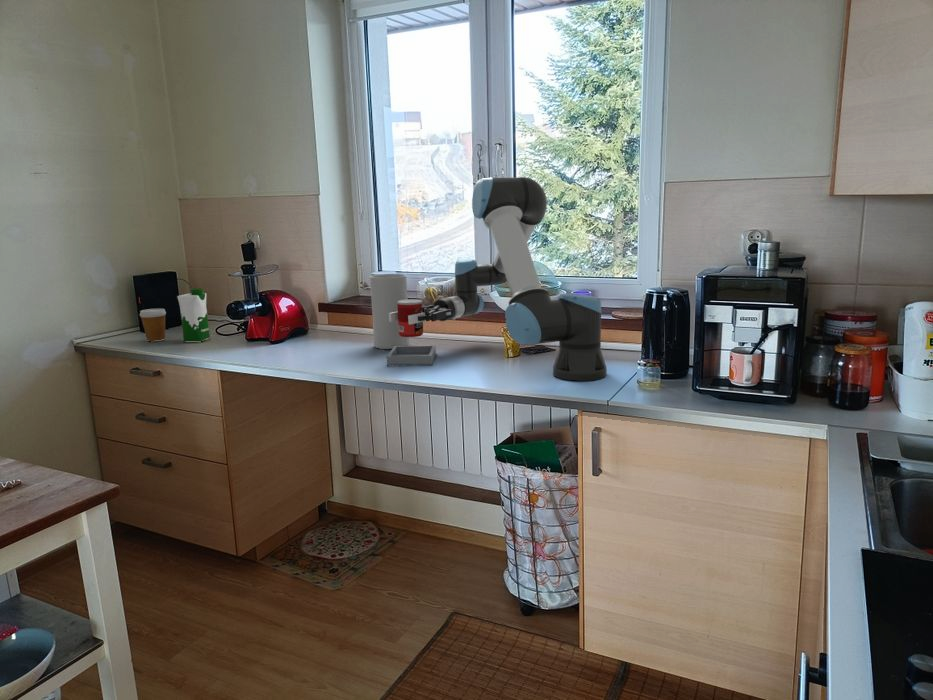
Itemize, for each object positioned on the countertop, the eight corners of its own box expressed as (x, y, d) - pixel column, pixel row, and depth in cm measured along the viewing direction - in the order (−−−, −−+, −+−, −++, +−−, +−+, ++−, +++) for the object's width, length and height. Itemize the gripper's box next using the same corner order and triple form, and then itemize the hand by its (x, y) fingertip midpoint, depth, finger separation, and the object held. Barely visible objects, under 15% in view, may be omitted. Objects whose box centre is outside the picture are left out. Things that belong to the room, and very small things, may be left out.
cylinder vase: (404, 350, 238) (401, 277, 233) (369, 350, 240) (365, 278, 235) (413, 342, 250) (410, 273, 245) (380, 342, 252) (376, 274, 247)
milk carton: (202, 343, 261) (196, 290, 256) (179, 343, 262) (173, 290, 258) (213, 338, 269) (208, 287, 265) (191, 338, 270) (186, 287, 266)
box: (431, 365, 215) (431, 355, 214) (387, 366, 216) (386, 356, 215) (436, 354, 231) (435, 345, 230) (394, 354, 231) (394, 346, 231)
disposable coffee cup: (163, 342, 264) (159, 311, 261) (138, 343, 264) (134, 312, 261) (173, 338, 273) (170, 307, 270) (149, 338, 273) (146, 308, 271)
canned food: (420, 337, 217) (418, 302, 215) (395, 337, 219) (393, 302, 216) (426, 332, 225) (424, 299, 222) (402, 332, 226) (401, 299, 224)
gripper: (471, 322, 228) (423, 334, 211) (426, 316, 241) (377, 327, 224) (471, 300, 226) (422, 309, 209) (425, 295, 240) (376, 304, 223)
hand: (399, 318), depth 217 cm, fingers closed on canned food, 8 cm apart
